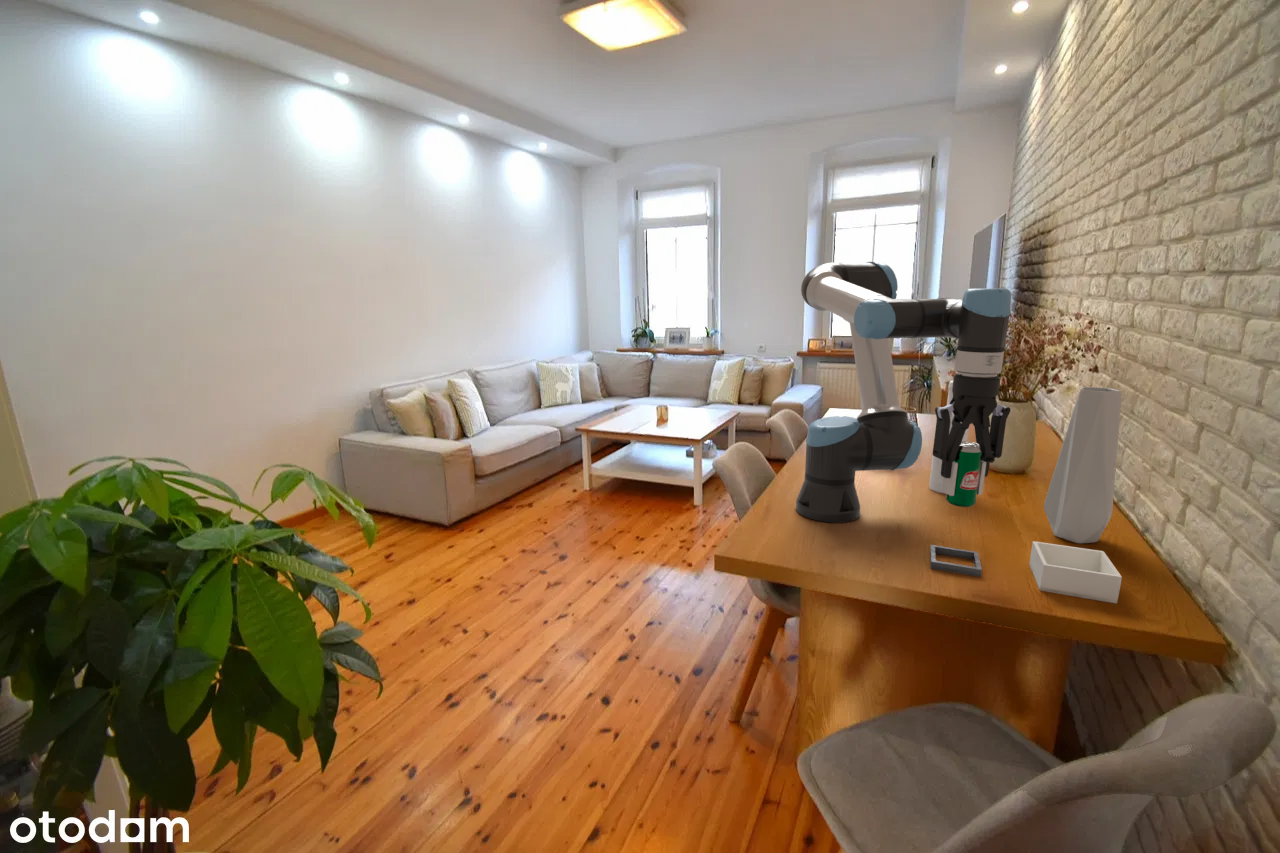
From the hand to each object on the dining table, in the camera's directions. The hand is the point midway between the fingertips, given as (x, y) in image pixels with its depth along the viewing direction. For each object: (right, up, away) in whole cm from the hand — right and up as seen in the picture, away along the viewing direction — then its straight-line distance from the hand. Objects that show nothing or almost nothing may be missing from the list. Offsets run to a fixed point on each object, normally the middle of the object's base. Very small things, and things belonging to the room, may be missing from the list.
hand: (961, 492), depth 112 cm
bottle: (+21, -5, +46) cm, 51 cm away
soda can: (0, -2, +1) cm, 2 cm away
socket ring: (0, -15, +3) cm, 15 cm away
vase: (+33, -12, +15) cm, 39 cm away
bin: (+17, -16, -5) cm, 24 cm away
